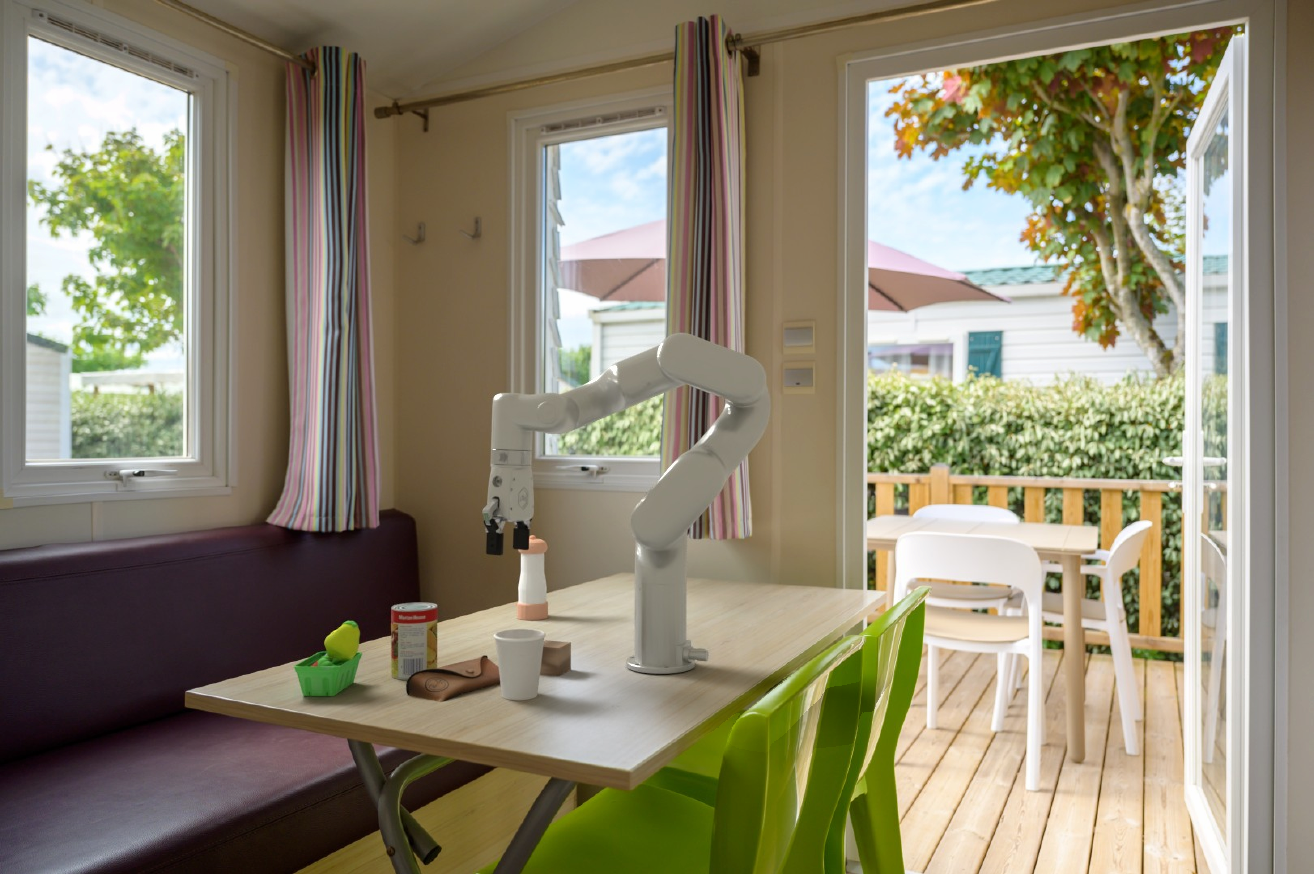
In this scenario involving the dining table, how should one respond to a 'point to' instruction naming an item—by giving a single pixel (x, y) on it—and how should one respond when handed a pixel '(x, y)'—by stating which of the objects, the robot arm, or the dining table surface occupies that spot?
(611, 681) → the dining table surface
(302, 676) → the fruit basket
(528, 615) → the pepper shaker
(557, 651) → the walnut block
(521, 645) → the dixie cup
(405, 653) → the canned food
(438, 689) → the sunglasses case
